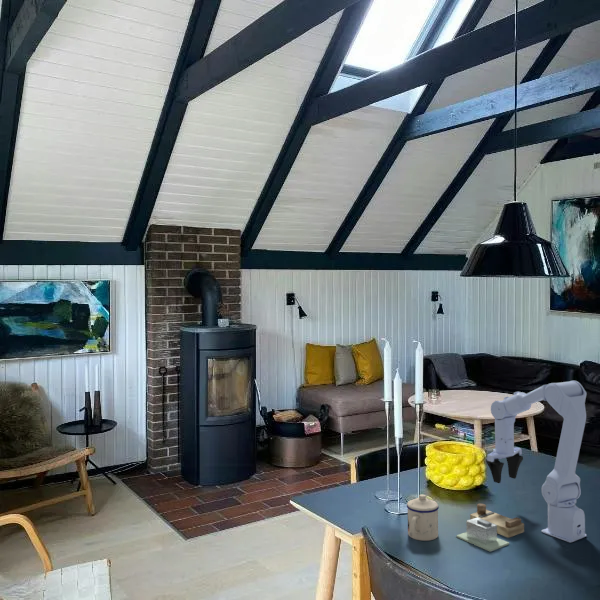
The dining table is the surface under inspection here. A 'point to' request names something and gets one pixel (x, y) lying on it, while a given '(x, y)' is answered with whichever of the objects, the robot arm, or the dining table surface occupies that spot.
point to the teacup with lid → (422, 518)
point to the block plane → (499, 521)
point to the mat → (488, 547)
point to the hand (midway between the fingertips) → (504, 480)
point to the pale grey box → (481, 530)
